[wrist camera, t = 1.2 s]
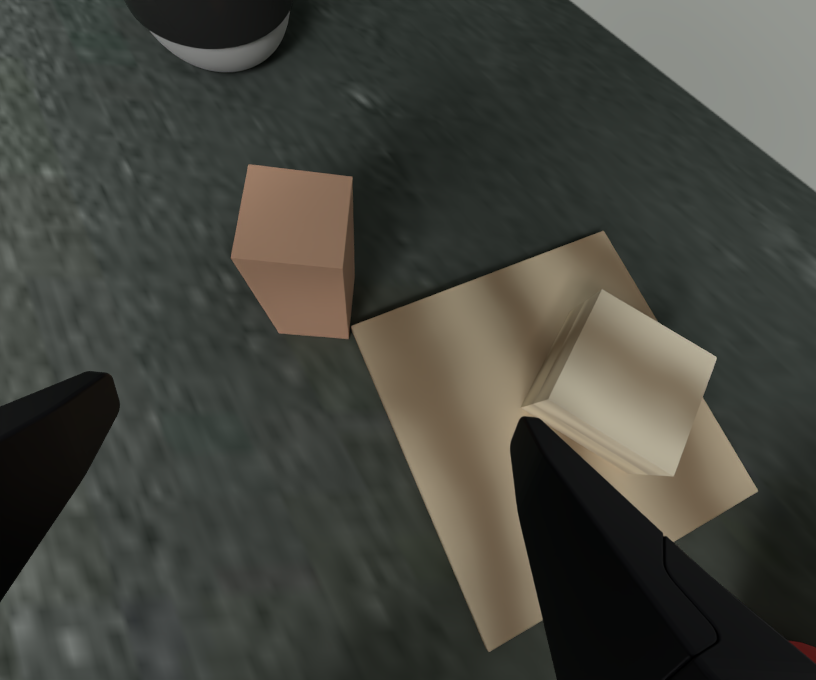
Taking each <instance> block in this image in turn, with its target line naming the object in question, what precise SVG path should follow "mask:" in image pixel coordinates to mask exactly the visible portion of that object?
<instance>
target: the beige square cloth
mask: <svg viewBox="0 0 816 680" xmlns="http://www.w3.org/2000/svg"><path fill="white" fill-rule="evenodd" d="M602 289H603V290H604V291H606V292H608V293H609V294H611V295H613V296H614V297H616V298H618V299H619V300H621V301H623V302H625V303H626V304H628V305H630V306H631V307H633V308H635V309H636V310H638V311H640V312H641V313H643V314H645V315H646V316H648V317H650V318H651V319H653V320H655V321H657V320H656V318H655V316H654V315H653V313H652V311H651V310H650V308H649V306H648V304H647V303H646V301H645V299H644V298H643V296H642V294H641V293H640V291H639V289H638V288H637V286H636V284H635V283H634V281H633V279H632V278H631V276H630V274H629V272H628V271H627V269H626V267H625V266H624V264H623V262H622V261H621V259H620V257H619V256H618V254H617V252H616V251H615V249H614V247H613V246H612V244H611V242H610V240H609V239H608V237H607V235H606V234H605V232H604V231H601V232H599V233H596V234H593V235H591V236H588V237H585V238H583V239H580V240H578V241H575V242H572V243H570V244H567V245H564V246H562V247H559V248H556V249H554V250H551V251H548V252H546V253H543V254H540V255H538V256H535V257H533V258H530V259H527V260H525V261H522V262H519V263H517V264H514V265H511V266H509V267H506V268H503V269H501V270H498V271H495V272H493V273H490V274H488V275H485V276H482V277H480V278H477V279H474V280H472V281H469V282H466V283H464V284H461V285H458V286H456V287H453V288H451V289H448V290H445V291H443V292H440V293H437V294H435V295H432V296H429V297H427V298H424V299H421V300H419V301H416V302H413V303H411V304H408V305H406V306H403V307H400V308H398V309H395V310H392V311H390V312H387V313H384V314H382V315H379V316H376V317H374V318H371V319H368V320H366V321H363V322H361V323H358V324H355V325H353V326H351V330H352V332H353V334H354V337H355V339H356V342H357V344H358V346H359V349H360V351H361V353H362V356H363V358H364V361H365V363H366V365H367V368H368V370H369V372H370V375H371V377H372V380H373V382H374V384H375V387H376V389H377V391H378V394H379V396H380V399H381V401H382V403H383V406H384V408H385V410H386V413H387V415H388V418H389V420H390V422H391V425H392V427H393V429H394V432H395V434H396V437H397V439H398V441H399V444H400V446H401V448H402V451H403V453H404V455H405V458H406V460H407V463H408V465H409V467H410V470H411V472H412V474H413V477H414V479H415V482H416V484H417V486H418V489H419V491H420V493H421V496H422V498H423V501H424V503H425V505H426V508H427V510H428V512H429V515H430V517H431V520H432V522H433V524H434V527H435V529H436V531H437V534H438V536H439V539H440V541H441V543H442V546H443V548H444V550H445V553H446V555H447V558H448V560H449V562H450V565H451V567H452V569H453V572H454V574H455V576H456V579H457V581H458V584H459V586H460V588H461V591H462V593H463V595H464V598H465V600H466V603H467V605H468V607H469V610H470V612H471V614H472V617H473V619H474V622H475V624H476V626H477V629H478V631H479V633H480V636H481V638H482V641H483V643H484V645H485V647H486V649H487V650H488V652H490V651H492V650H493V649H495V648H497V647H498V646H500V645H502V644H503V643H505V642H507V641H508V640H510V639H512V638H513V637H515V636H517V635H518V634H520V633H522V632H523V631H525V630H527V629H528V628H530V627H532V626H534V625H535V624H537V623H539V622H540V621H542V620H543V619H542V614H541V610H540V606H539V602H538V598H537V593H536V589H535V585H534V581H533V576H532V572H531V568H530V564H529V560H528V555H527V551H526V547H525V543H524V539H523V534H522V530H521V526H520V521H519V517H518V512H517V505H516V497H515V489H514V481H513V472H512V464H511V456H510V443H511V439H512V437H513V434H514V431H515V429H516V426H517V423H518V421H519V419H520V418H521V417H523V416H529V417H535V416H533V415H532V414H530V413H528V412H527V411H525V410H523V409H522V408H521V406H522V404H523V402H524V400H525V398H526V396H527V394H528V392H529V390H530V389H531V387H532V385H533V383H534V381H535V379H536V377H537V375H538V373H539V371H540V369H541V367H542V365H543V363H544V361H545V359H546V357H547V355H548V353H549V351H550V349H551V347H552V345H553V343H554V341H555V339H556V338H557V336H558V334H559V332H560V330H561V328H562V326H563V324H564V322H565V320H566V318H567V316H568V314H569V312H570V311H571V310H573V309H574V308H576V307H577V306H578V305H580V304H581V303H583V302H584V301H586V300H587V299H589V298H590V297H592V296H593V295H594V294H596V293H597V292H599V291H600V290H602ZM657 322H658V321H657ZM544 423H545V422H544ZM547 425H548V424H547ZM548 426H549V425H548ZM549 427H550V428H551V429H552V430H553V431H554V432H555V433H556V434H557V435H558V436H560V437H561V438H562V439H563V440H564V441H565V442H566V443H567V444H568V445H569V446H570V447H571V448H572V449H573V450H575V451H576V452H577V453H578V454H579V455H580V456H581V457H582V458H583V459H584V460H585V461H586V462H587V463H589V464H590V465H591V466H592V467H593V468H594V469H595V470H596V471H597V472H598V473H599V474H600V475H601V476H603V477H604V478H605V479H606V480H607V481H608V482H609V483H610V484H611V485H612V486H613V487H614V488H615V489H616V490H618V491H619V492H620V493H621V494H622V495H623V496H624V497H625V498H626V499H627V500H628V501H629V502H630V503H632V504H633V505H634V506H635V507H636V508H637V509H638V510H639V511H640V512H641V513H642V514H643V515H644V516H646V517H647V518H648V519H649V520H650V521H651V522H652V523H653V524H654V525H655V526H656V527H657V528H658V529H659V530H661V531H662V532H663V536H667V537H668V538H669V539H670V540H671V541H673V542H674V541H676V540H678V539H679V538H681V537H683V536H684V535H686V534H688V533H689V532H691V531H693V530H694V529H696V528H698V527H699V526H701V525H703V524H704V523H706V522H708V521H709V520H711V519H713V518H714V517H716V516H718V515H719V514H721V513H723V512H724V511H726V510H728V509H729V508H731V507H733V506H734V505H736V504H738V503H739V502H741V501H743V500H745V499H746V498H748V497H750V496H751V495H753V494H755V493H756V492H758V490H757V488H756V486H755V485H754V483H753V481H752V479H751V478H750V476H749V474H748V473H747V471H746V469H745V468H744V466H743V464H742V463H741V461H740V459H739V458H738V456H737V454H736V453H735V451H734V449H733V448H732V446H731V444H730V442H729V441H728V439H727V437H726V436H725V434H724V432H723V431H722V429H721V427H720V426H719V424H718V422H717V421H716V419H715V417H714V416H713V414H712V412H711V410H710V409H709V407H708V405H707V404H706V402H705V400H704V399H703V398H702V400H701V403H700V406H699V409H698V411H697V414H696V417H695V420H694V422H693V425H692V428H691V431H690V433H689V436H688V439H687V442H686V444H685V447H684V450H683V452H682V455H681V458H680V461H679V463H678V466H677V469H676V472H675V474H674V476H657V475H641V474H627V473H626V472H624V471H622V470H621V469H619V468H618V467H616V466H614V465H613V464H611V463H609V462H608V461H606V460H605V459H603V458H601V457H600V456H598V455H596V454H595V453H593V452H592V451H590V450H588V449H587V448H585V447H583V446H582V445H580V444H579V443H577V442H575V441H574V440H572V439H570V438H569V437H567V436H566V435H564V434H562V433H561V432H559V431H557V430H556V429H554V428H553V427H551V426H549Z"/></svg>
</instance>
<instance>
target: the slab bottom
mask: <svg viewBox="0 0 816 680" xmlns="http://www.w3.org/2000/svg"><path fill="white" fill-rule="evenodd" d="M584 302H585V301H584ZM584 302H583V303H581V304H580V305H578V306H577V307H576V308H574V309H573V310H571V311H570V312H569V314H568V316H567V318H566V320H565V322H564V324H563V326H562V328H561V330H560V332H559V334H558V336H557V338H556V339H555V341H554V343H553V345H552V347H551V349H550V351H549V353H548V355H547V357H546V359H545V361H544V363H543V365H542V367H541V369H540V371H539V373H538V375H537V377H536V379H535V381H534V383H533V385H532V387H531V389H530V390H529V392H528V394H527V396H526V398H525V400H524V402H523V404H522V406H521V408H522V409H523V410H525V411H527V412H528V413H530V414H532V415H533V416H535V417H537V418H540V419H541V420H542V421H543V422H545V423H546V424H548V425H549V426H551V427H553V428H554V429H556V430H557V431H559V432H561V433H562V434H564V435H566V436H567V437H569V438H570V439H572V440H574V441H575V442H577V443H579V444H580V445H582V446H583V447H585V448H587V449H588V450H590V451H592V452H593V453H595V454H596V455H598V456H600V457H601V458H603V459H605V460H606V461H608V462H609V463H611V464H613V465H614V466H616V467H618V468H619V469H621V470H622V471H624V472H626V473H627V474H641V475H648V474H646V473H645V472H643V471H642V470H640V469H638V468H637V467H635V466H633V465H632V464H630V463H629V462H627V461H625V460H624V459H622V458H620V457H619V456H617V455H616V454H614V453H612V452H611V451H609V450H607V449H606V448H604V447H602V446H601V445H599V444H598V443H596V442H594V441H593V440H591V439H589V438H588V437H586V436H585V435H583V434H581V433H580V432H578V431H576V430H575V429H573V428H572V427H570V426H568V425H567V424H565V423H563V422H562V421H560V420H559V419H557V418H555V417H554V416H552V415H550V414H549V413H547V412H546V411H544V410H542V409H541V408H539V407H537V406H536V405H534V404H533V403H534V401H535V399H536V397H537V396H538V394H539V392H540V390H541V388H542V386H543V384H544V382H545V380H546V378H547V376H548V374H549V372H550V370H551V368H552V366H553V364H554V362H555V360H556V358H557V356H558V354H559V352H560V350H561V348H562V346H563V344H564V342H565V340H566V338H567V336H568V334H569V332H570V330H571V328H572V326H573V324H574V322H575V320H576V318H577V316H578V314H579V312H580V310H581V308H582V306H583V304H584Z"/></svg>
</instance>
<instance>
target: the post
mask: <svg viewBox="0 0 816 680" xmlns="http://www.w3.org/2000/svg"><path fill="white" fill-rule="evenodd" d="M231 259H232V261H233V262H234V264H235V265H236V267H237V268H238V270H239V272H240V273H241V275H242V276H243V278H244V279H245V281H246V282H247V284H248V286H249V287H250V289H251V290H252V292H253V293H254V295H255V296H256V298H257V300H258V301H259V303H260V304H261V306H262V307H263V309H264V310H265V312H266V314H267V315H268V317H269V318H270V320H271V321H272V323H273V324H274V326H275V328H276V329H277V331H278V332H279V333H282V334H294V335H306V336H318V337H330V338H342V339H349V331H350V320H351V310H352V300H353V290H354V279H355V266H354V222H353V179H352V177H350V176H342V175H333V174H325V173H316V172H308V171H300V170H291V169H283V168H274V167H266V166H258V165H248V170H247V175H246V180H245V186H244V191H243V196H242V201H241V207H240V212H239V217H238V222H237V228H236V233H235V238H234V243H233V249H232V254H231Z"/></svg>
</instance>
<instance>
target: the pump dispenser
mask: <svg viewBox="0 0 816 680" xmlns="http://www.w3.org/2000/svg"><path fill="white" fill-rule="evenodd" d="M124 1H125V3H126V5H127V7H128V8H129V10H130V11H131V13H132V14H133V15H134V17H135V18H136V19H137V20H138V21H139V22H140V23H141V24H142V25H143V26H144V27H146V28H147V29H148V30H149V31H150V32H151V33H152V34H153V35H154V36H155V37H156V38H157V39H158V41H159V42H160V43H161V44H163V45H164V46H165V47H166V48H167V49H168V50H169V51H171V52H172V53H173V54H175V55H176V56H178V57H179V58H181V59H182V60H184V61H186V62H188V63H190V64H192V65H194V66H197V67H199V68H202V69H206V70H210V71H216V72H237V71H243V70H246V69H249V68H252V67H254V66H256V65H258V64H260V63H262V62H263V61H265V60H266V59H267V58H268V57H269V56H270V55H271V54H272V53H273V52H274V51H275V50H276V49H277V47H278V46H279V44H280V42H281V41H282V39H283V36H284V34H285V31H286V28H287V25H288V21H289V15H290V9H291V7H292V4H293V0H124Z"/></svg>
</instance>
